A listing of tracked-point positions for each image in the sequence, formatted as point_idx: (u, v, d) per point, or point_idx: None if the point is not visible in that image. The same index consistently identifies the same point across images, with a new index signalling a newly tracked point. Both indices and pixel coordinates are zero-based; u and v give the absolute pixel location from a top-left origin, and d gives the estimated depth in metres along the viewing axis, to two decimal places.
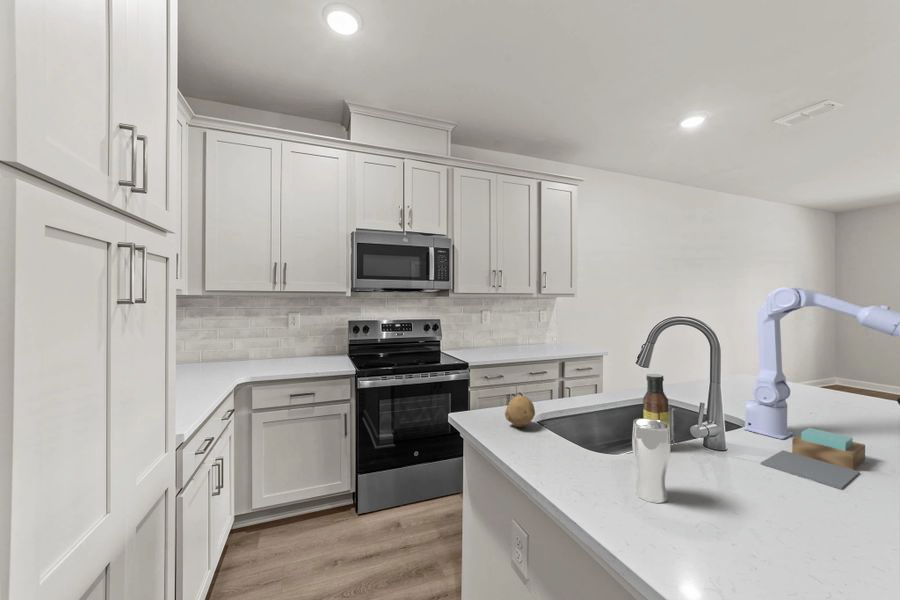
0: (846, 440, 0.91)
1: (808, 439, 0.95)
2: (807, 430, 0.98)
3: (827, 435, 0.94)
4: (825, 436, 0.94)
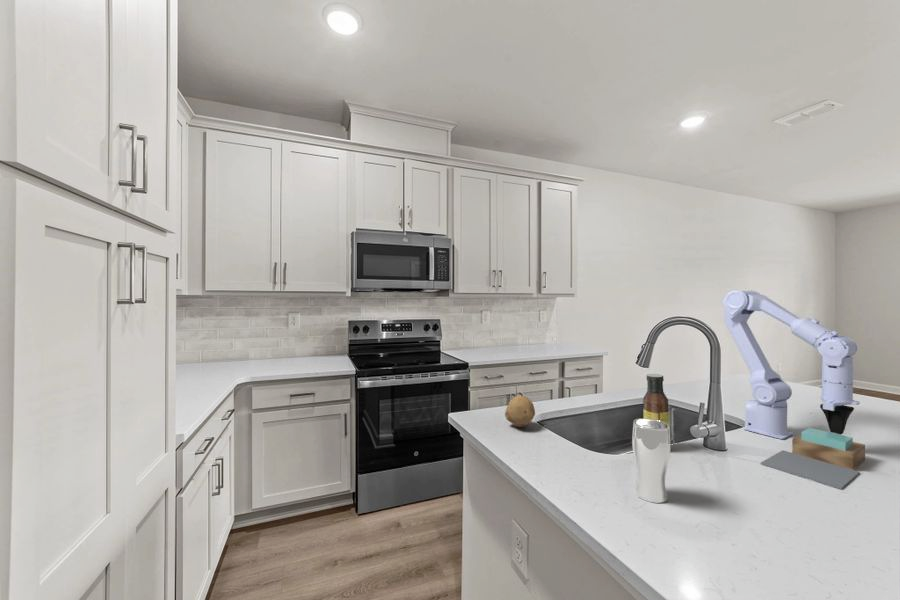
0: (846, 440, 0.91)
1: (808, 439, 0.95)
2: (807, 430, 0.98)
3: (827, 435, 0.94)
4: (825, 436, 0.94)
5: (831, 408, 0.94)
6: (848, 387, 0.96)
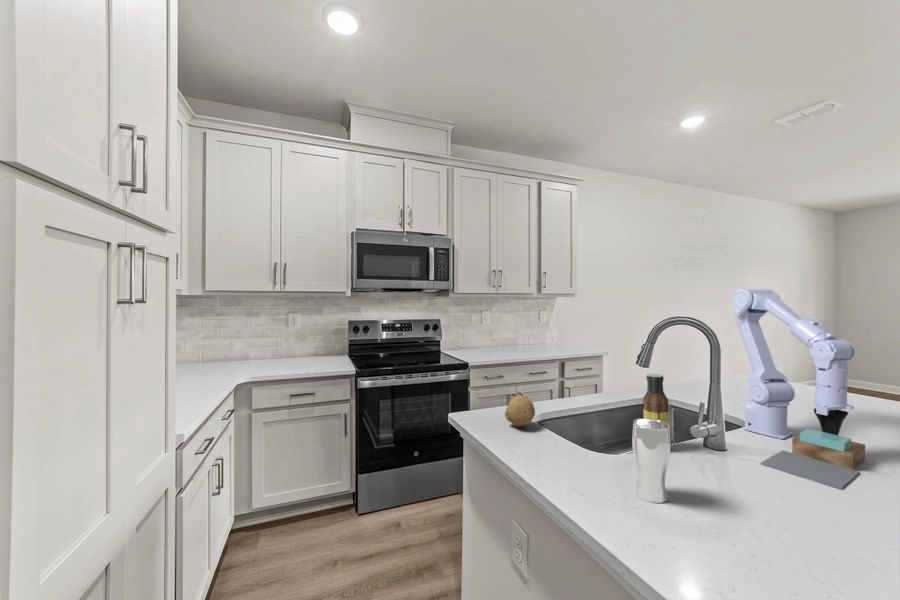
0: (845, 441, 0.90)
1: (806, 440, 0.95)
2: (805, 431, 0.97)
3: (826, 436, 0.94)
4: (824, 436, 0.93)
5: (825, 413, 0.92)
6: (842, 391, 0.93)
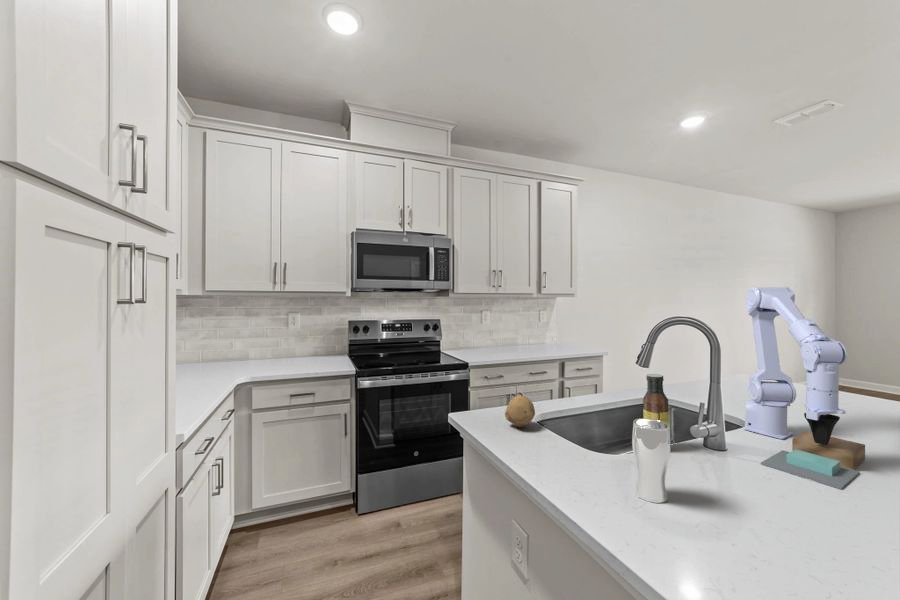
0: None
1: None
2: None
3: None
4: None
5: (815, 417, 0.88)
6: (833, 395, 0.90)
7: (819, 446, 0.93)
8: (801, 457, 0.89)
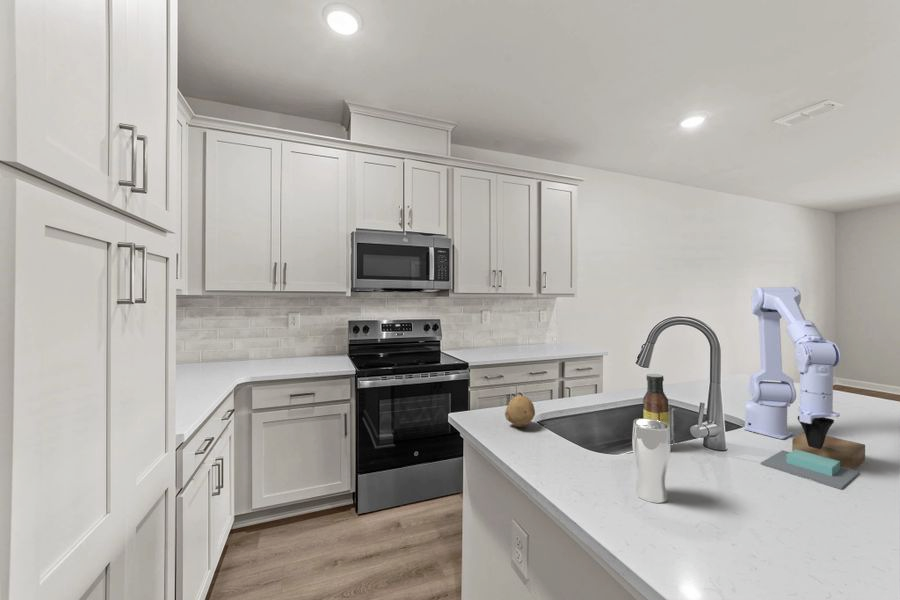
0: None
1: None
2: None
3: None
4: None
5: (808, 421, 0.86)
6: (827, 398, 0.87)
7: None
8: (801, 457, 0.89)
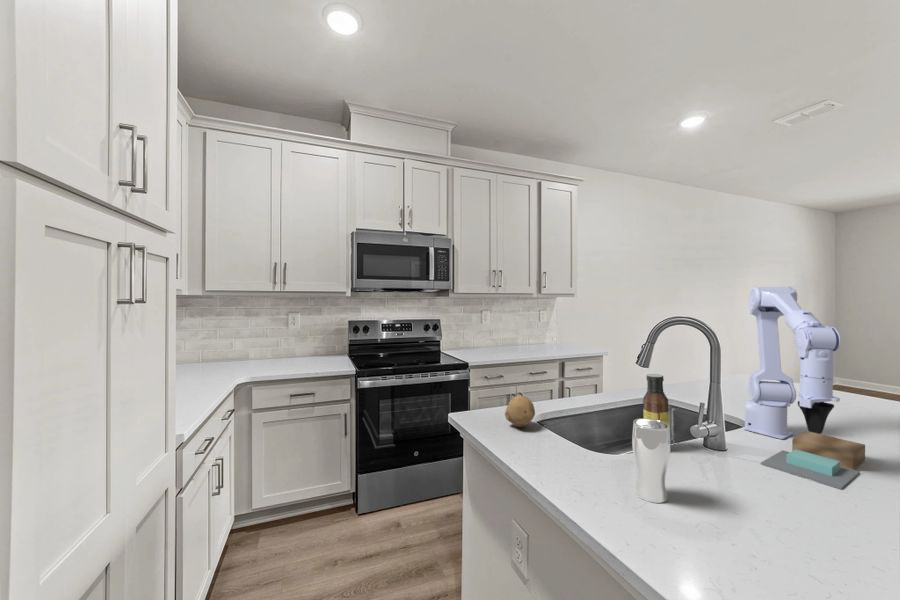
0: None
1: None
2: None
3: None
4: None
5: (808, 405, 0.86)
6: (827, 382, 0.87)
7: (819, 446, 0.93)
8: (801, 457, 0.89)
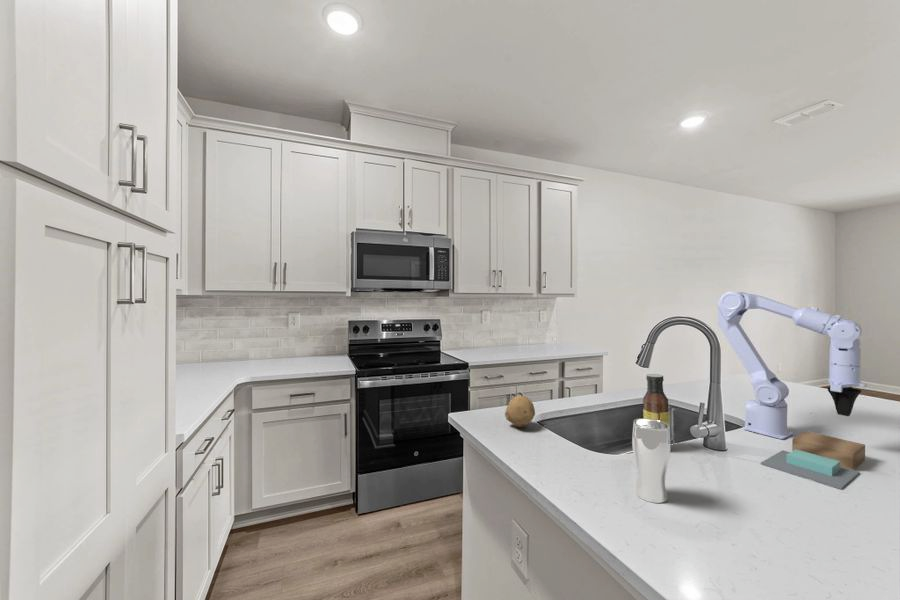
0: None
1: None
2: None
3: None
4: None
5: (839, 390, 0.95)
6: (855, 369, 0.97)
7: (819, 446, 0.93)
8: (801, 457, 0.89)
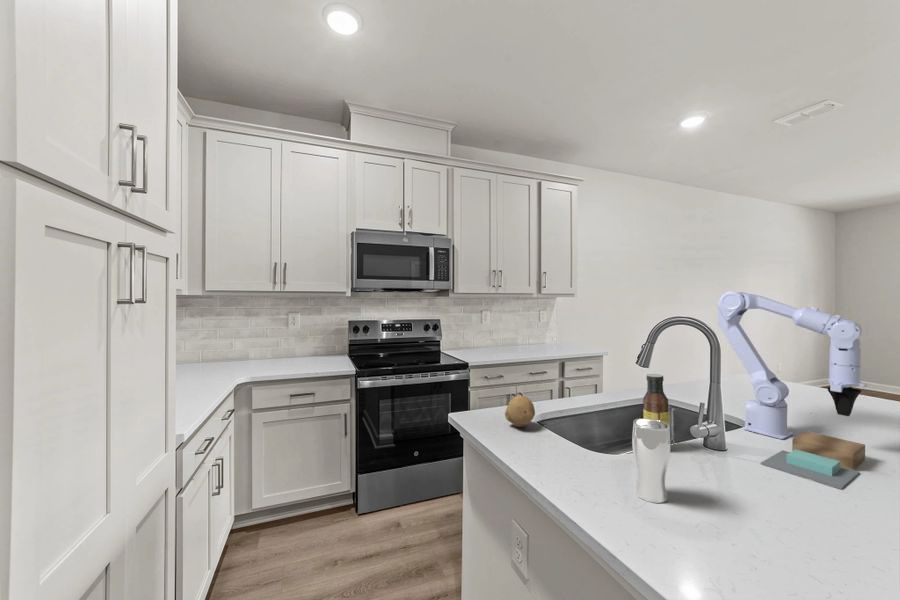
0: None
1: None
2: None
3: None
4: None
5: (839, 390, 0.95)
6: (855, 369, 0.97)
7: (819, 446, 0.93)
8: (801, 457, 0.89)
